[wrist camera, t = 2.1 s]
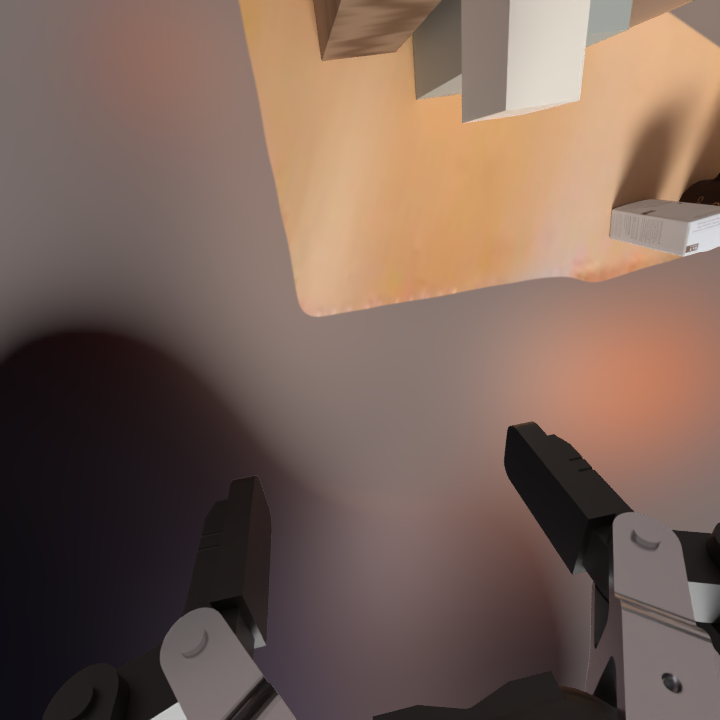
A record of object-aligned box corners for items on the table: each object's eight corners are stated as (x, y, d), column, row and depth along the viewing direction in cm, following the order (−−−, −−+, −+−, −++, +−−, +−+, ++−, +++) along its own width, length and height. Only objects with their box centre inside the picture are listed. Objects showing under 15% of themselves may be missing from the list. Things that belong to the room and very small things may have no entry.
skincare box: (650, 197, 53) (742, 203, 42) (646, 230, 55) (733, 243, 44) (609, 209, 53) (691, 218, 42) (606, 241, 55) (685, 258, 44)
